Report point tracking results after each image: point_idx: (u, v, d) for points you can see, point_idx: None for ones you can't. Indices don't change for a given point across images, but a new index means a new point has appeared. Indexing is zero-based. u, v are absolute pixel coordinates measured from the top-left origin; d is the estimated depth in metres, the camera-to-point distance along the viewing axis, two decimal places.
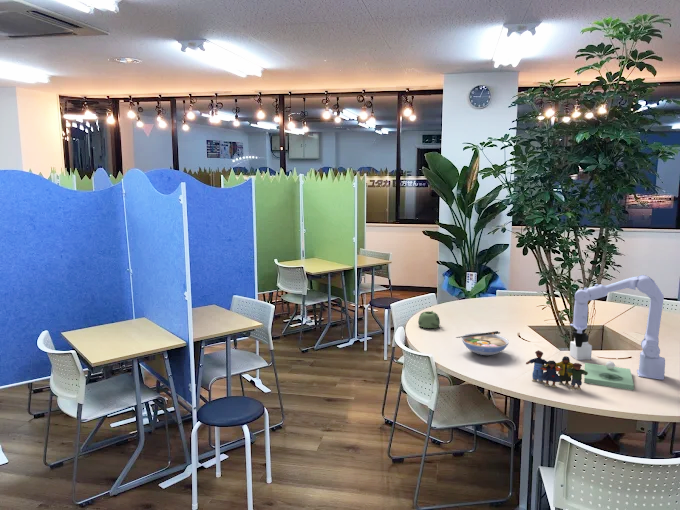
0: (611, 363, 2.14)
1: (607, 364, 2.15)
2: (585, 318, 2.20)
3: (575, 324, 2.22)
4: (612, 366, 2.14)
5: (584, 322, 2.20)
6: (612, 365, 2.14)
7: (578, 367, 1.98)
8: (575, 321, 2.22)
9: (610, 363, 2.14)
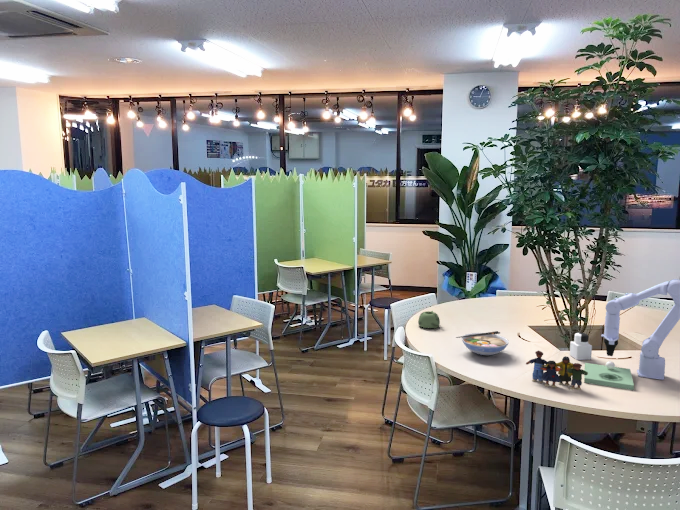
0: (611, 363, 2.14)
1: (607, 364, 2.15)
2: (617, 329, 2.17)
3: (606, 335, 2.19)
4: (612, 366, 2.14)
5: (615, 333, 2.17)
6: (612, 365, 2.14)
7: (578, 367, 1.98)
8: (606, 332, 2.19)
9: (610, 363, 2.14)
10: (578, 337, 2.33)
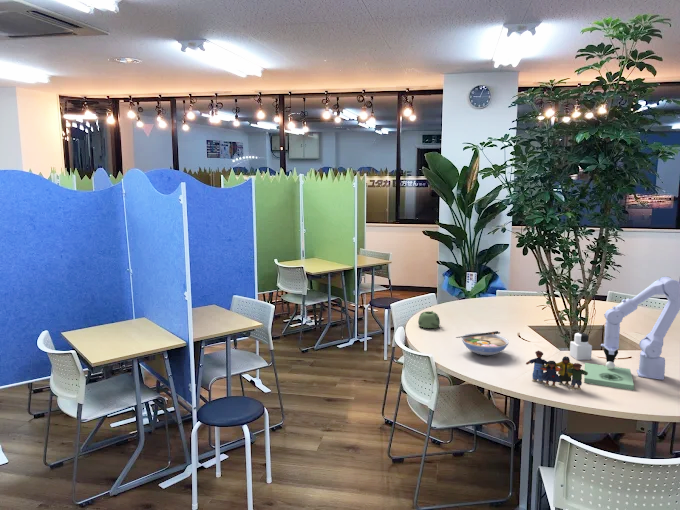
0: (611, 363, 2.14)
1: (607, 364, 2.15)
2: (617, 339, 2.13)
3: (606, 345, 2.15)
4: (612, 366, 2.14)
5: (615, 343, 2.13)
6: (612, 365, 2.14)
7: (578, 367, 1.98)
8: (606, 341, 2.15)
9: (610, 363, 2.14)
10: (578, 337, 2.33)
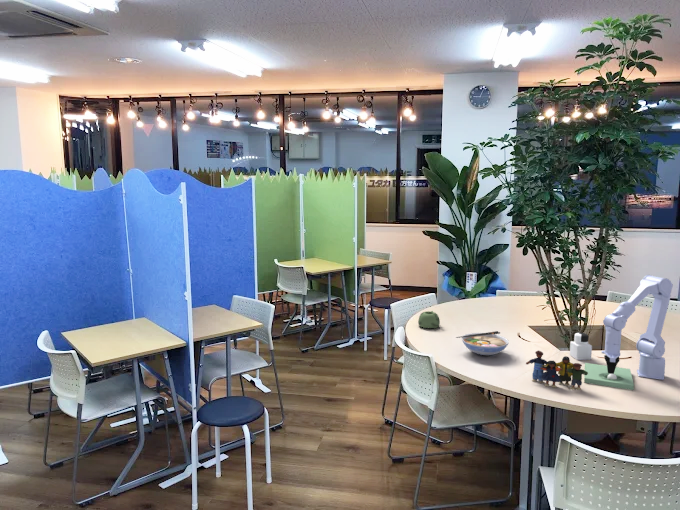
0: (613, 375, 2.05)
1: (609, 375, 2.06)
2: (618, 345, 2.04)
3: (607, 351, 2.06)
4: (614, 378, 2.05)
5: (617, 349, 2.05)
6: (614, 377, 2.05)
7: (578, 367, 1.98)
8: (607, 348, 2.06)
9: (612, 375, 2.05)
10: (578, 337, 2.33)
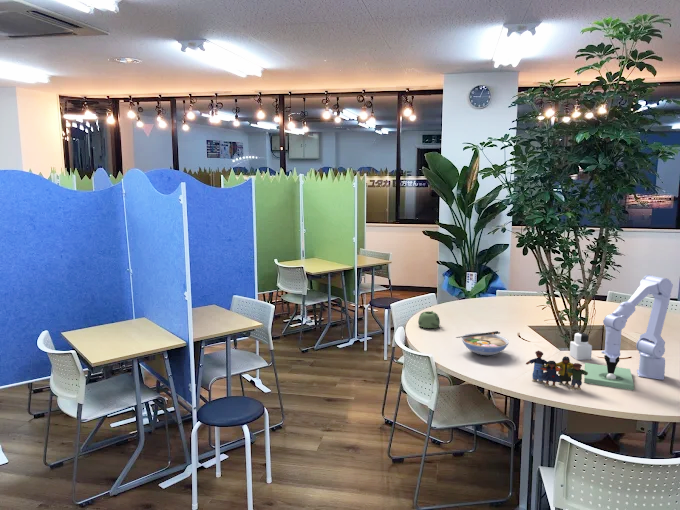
0: (612, 374, 2.06)
1: (608, 375, 2.06)
2: (618, 345, 2.04)
3: (607, 351, 2.06)
4: (613, 377, 2.05)
5: (617, 349, 2.05)
6: (613, 376, 2.05)
7: (578, 367, 1.98)
8: (607, 348, 2.06)
9: (611, 374, 2.06)
10: (578, 337, 2.33)
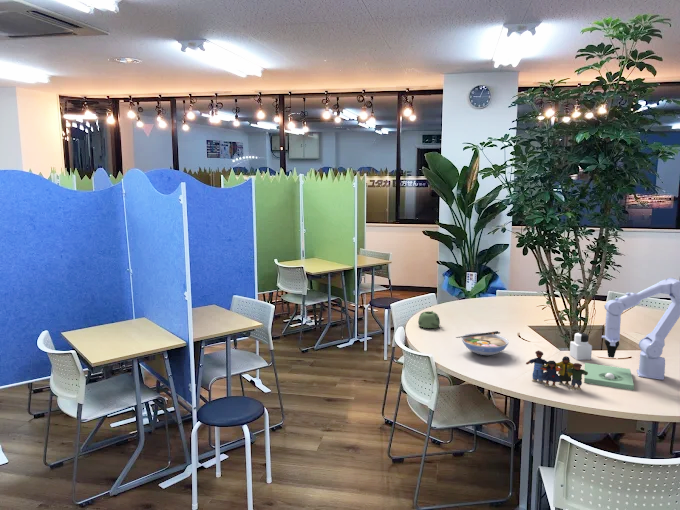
0: (609, 373, 2.07)
1: (606, 375, 2.07)
2: (618, 330, 2.12)
3: (607, 336, 2.14)
4: (611, 375, 2.06)
5: (616, 334, 2.12)
6: (610, 374, 2.06)
7: (578, 367, 1.98)
8: (607, 333, 2.13)
9: (608, 373, 2.07)
10: (578, 337, 2.33)
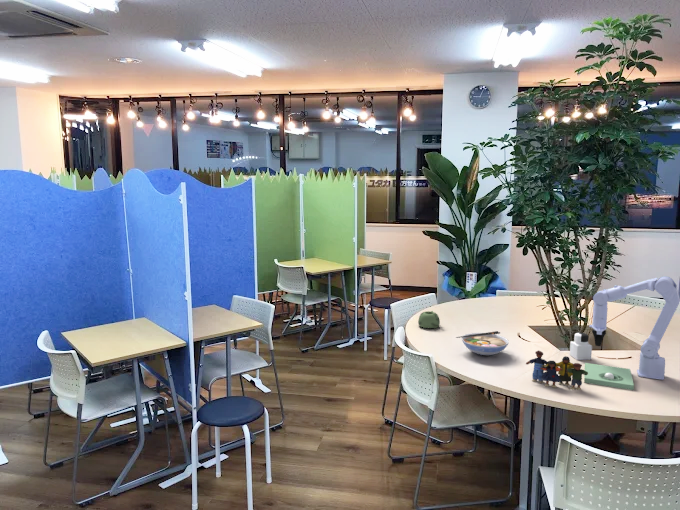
0: (608, 373, 2.07)
1: (605, 375, 2.08)
2: (605, 319, 2.20)
3: (594, 325, 2.22)
4: (610, 375, 2.06)
5: (603, 323, 2.20)
6: (610, 374, 2.06)
7: (578, 367, 1.98)
8: (594, 322, 2.22)
9: (607, 373, 2.07)
10: (578, 337, 2.33)
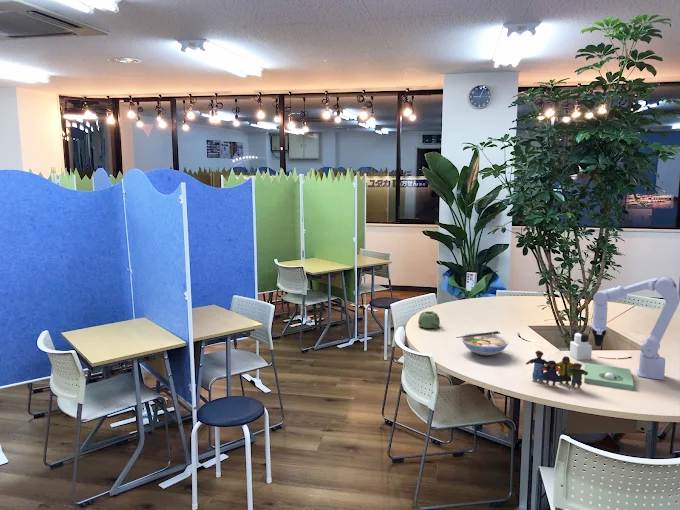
0: (608, 373, 2.07)
1: (605, 375, 2.07)
2: (605, 319, 2.20)
3: (594, 325, 2.22)
4: (610, 375, 2.06)
5: (603, 323, 2.20)
6: (610, 374, 2.06)
7: (578, 367, 1.98)
8: (594, 322, 2.22)
9: (607, 373, 2.07)
10: (578, 337, 2.33)
